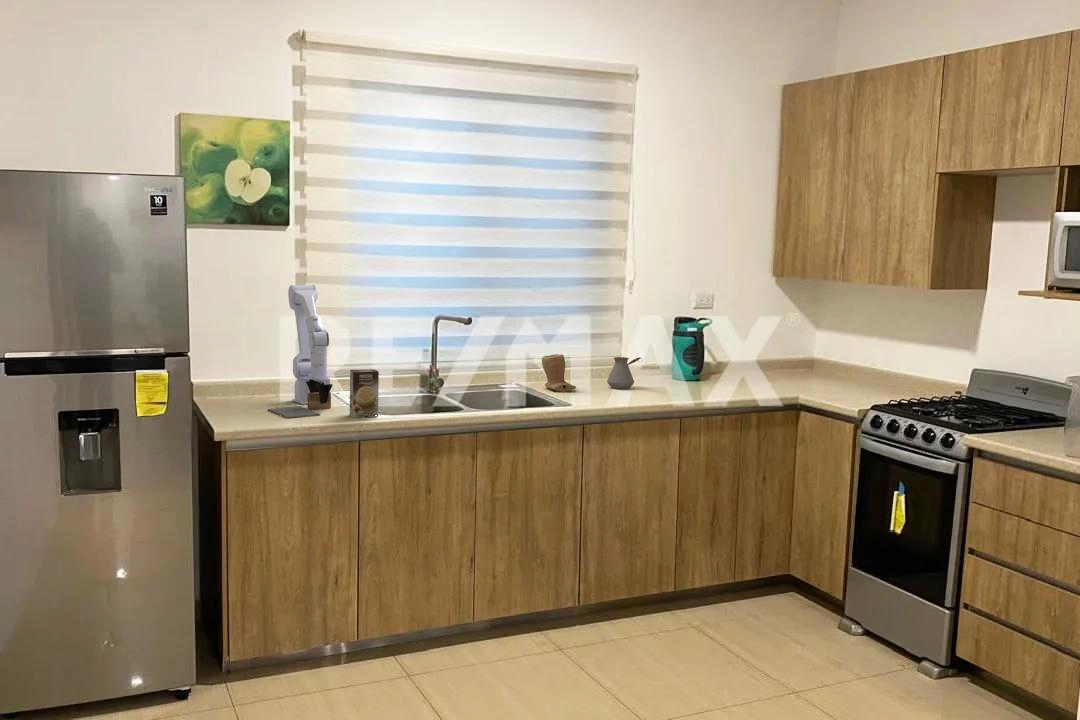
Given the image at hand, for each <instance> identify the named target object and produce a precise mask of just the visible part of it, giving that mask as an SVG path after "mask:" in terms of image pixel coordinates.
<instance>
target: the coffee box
mask: <svg viewBox="0 0 1080 720" xmlns="http://www.w3.org/2000/svg"><path fill="white" fill-rule="evenodd" d="M379 375H380V372H379V370H377V369H372V368H371V369H367V368H366V369H350V370H349V415H350V416H351V417H352V418H365V417H364V416H375V415H377V417H379V386H380V385H379V382H380V381H379V378H380V376H379Z"/></svg>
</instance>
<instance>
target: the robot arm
mask: <svg viewBox="0 0 1080 720" xmlns="http://www.w3.org/2000/svg"><path fill="white" fill-rule="evenodd" d="M287 290H288V292H287V294H288V304H289V308H290V309H291V310H293V311H294V315H295V323H296V332H297V341H298V342H297V343H298V350H299V351H298V352H299V353H297V355H296V356H294V357H293V359H292V374H293V377H294V378H295V381H294V386H293V387H294V398H292V401H293V402H296V403H298V404H301V405H307V393H315V392H319V397H320V403H321V404H322V403H327V400H328V395H329V392H331V389H332V388H333V384H332V383H331V378H329V376H328V354H327V353H328V352H327V351H328V348H327V347H329V344H330V335H329V332H328V330H327V329H326V328H324V325H323V322H322V318H321V316H319V315H318V314H317V309H316V302H317V299H318V288H317V286H316V284H311V285H309V284H308V285H305V284H303V285H299V284H297V285H295V284H291V285H289V287H288V289H287Z"/></svg>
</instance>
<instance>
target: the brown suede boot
mask: <svg viewBox="0 0 1080 720" xmlns="http://www.w3.org/2000/svg"><path fill="white" fill-rule="evenodd" d="M565 358H566V357H565V355H564V354H563V353H561V354H557V353H556V354H550V355H544V356H542V357H541V365H542V369H543V371H544V373H545V377H546V378H547V382H545V384H544V387H545V388H548V389H551V390H554V391H557V392H561V393H566V392H567V393H568V392H571V391H573V390H576V389H577V387H576V385H574V384H571V383H569V382H566V381H565V372H566V359H565Z"/></svg>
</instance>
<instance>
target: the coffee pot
mask: <svg viewBox="0 0 1080 720" xmlns="http://www.w3.org/2000/svg"><path fill="white" fill-rule="evenodd" d="M629 359H630V358H629V357H626V356H616V357H613V360H614V365H613V366H612V369H611V371H610V374H609V375H608V377H607V380H606V382H607V384H608V386H610V387H611V389H614V390H629V389H630V388H631V387H632V386H633V385H634V383H635V379H634V377H633V374H632V373H631V370H630V365H632V364H633V363H636V362H638V363H642V362H643V358H642V357H636V358H634V359H632V360H631V361H629V362H628V360H629ZM640 359H641V361H639V360H640Z"/></svg>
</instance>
